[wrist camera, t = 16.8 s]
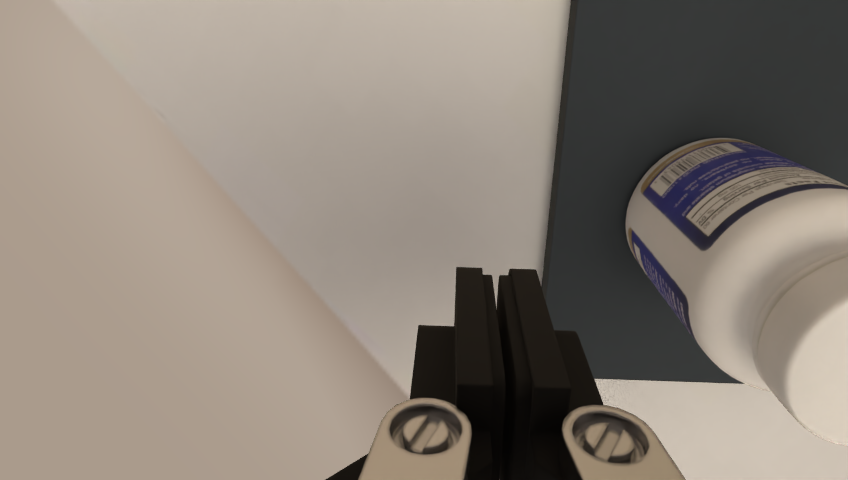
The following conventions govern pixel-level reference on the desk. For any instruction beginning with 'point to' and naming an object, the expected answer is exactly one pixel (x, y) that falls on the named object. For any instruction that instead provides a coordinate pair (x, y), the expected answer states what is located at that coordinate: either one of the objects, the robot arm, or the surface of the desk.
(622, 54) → the mat
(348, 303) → the desk surface
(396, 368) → the desk surface
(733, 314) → the pill bottle
